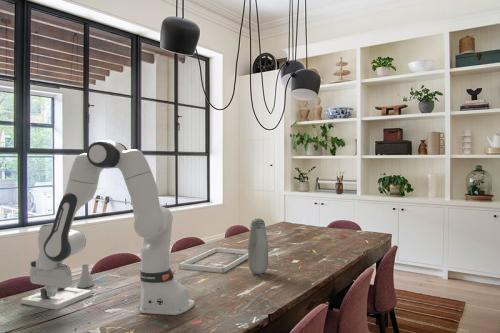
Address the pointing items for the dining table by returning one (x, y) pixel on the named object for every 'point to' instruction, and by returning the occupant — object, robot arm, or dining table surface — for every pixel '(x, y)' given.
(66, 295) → the plate
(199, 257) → the tray
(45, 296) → the block
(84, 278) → the flask
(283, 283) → the dining table surface
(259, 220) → the grey bottle
